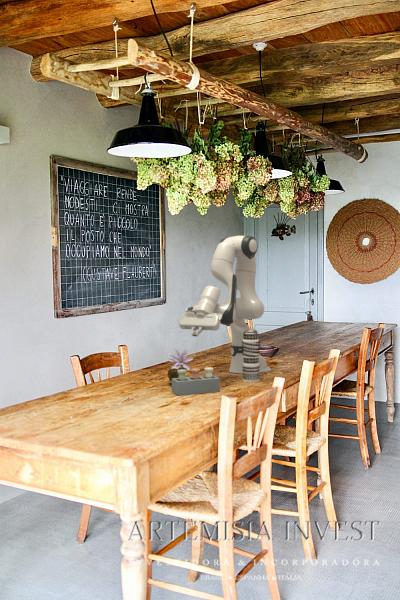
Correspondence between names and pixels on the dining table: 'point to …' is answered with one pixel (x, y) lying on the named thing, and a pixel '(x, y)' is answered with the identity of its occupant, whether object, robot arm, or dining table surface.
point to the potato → (173, 373)
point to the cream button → (208, 372)
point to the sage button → (181, 374)
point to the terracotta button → (195, 373)
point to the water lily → (180, 359)
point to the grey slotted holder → (195, 385)
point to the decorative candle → (250, 355)
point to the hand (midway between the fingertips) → (194, 335)
